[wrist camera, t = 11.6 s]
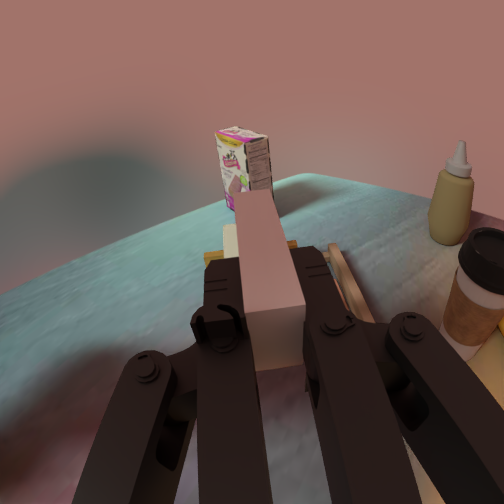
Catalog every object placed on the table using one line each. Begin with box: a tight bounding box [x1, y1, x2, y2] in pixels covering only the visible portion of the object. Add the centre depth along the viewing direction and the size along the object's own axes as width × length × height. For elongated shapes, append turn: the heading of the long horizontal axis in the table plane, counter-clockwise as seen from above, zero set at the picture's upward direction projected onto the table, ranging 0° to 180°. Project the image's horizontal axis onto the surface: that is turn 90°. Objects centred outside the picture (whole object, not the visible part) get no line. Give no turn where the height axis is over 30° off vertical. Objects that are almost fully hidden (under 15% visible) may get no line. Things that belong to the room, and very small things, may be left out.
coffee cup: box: [439, 227, 504, 362], centre depth 27 cm, size 8×8×15 cm
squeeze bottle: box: [428, 140, 474, 246], centre depth 43 cm, size 8×8×18 cm
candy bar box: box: [215, 126, 274, 212], centre depth 57 cm, size 11×5×16 cm, turn 32°
